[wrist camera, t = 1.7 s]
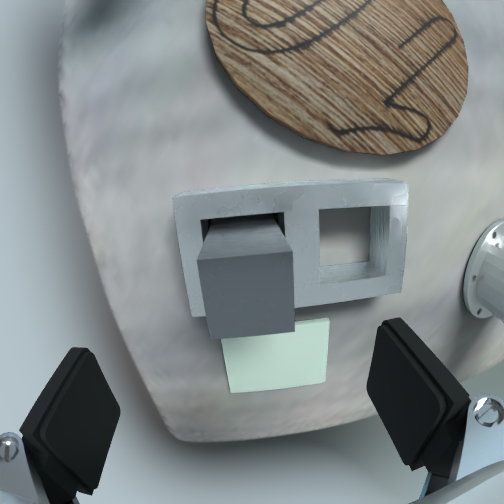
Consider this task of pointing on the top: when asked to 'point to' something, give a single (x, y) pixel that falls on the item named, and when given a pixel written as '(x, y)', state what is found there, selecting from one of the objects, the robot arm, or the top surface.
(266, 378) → the sage pad
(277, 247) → the zinc peg
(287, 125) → the trivet
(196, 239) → the grey cinder block
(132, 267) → the top surface
